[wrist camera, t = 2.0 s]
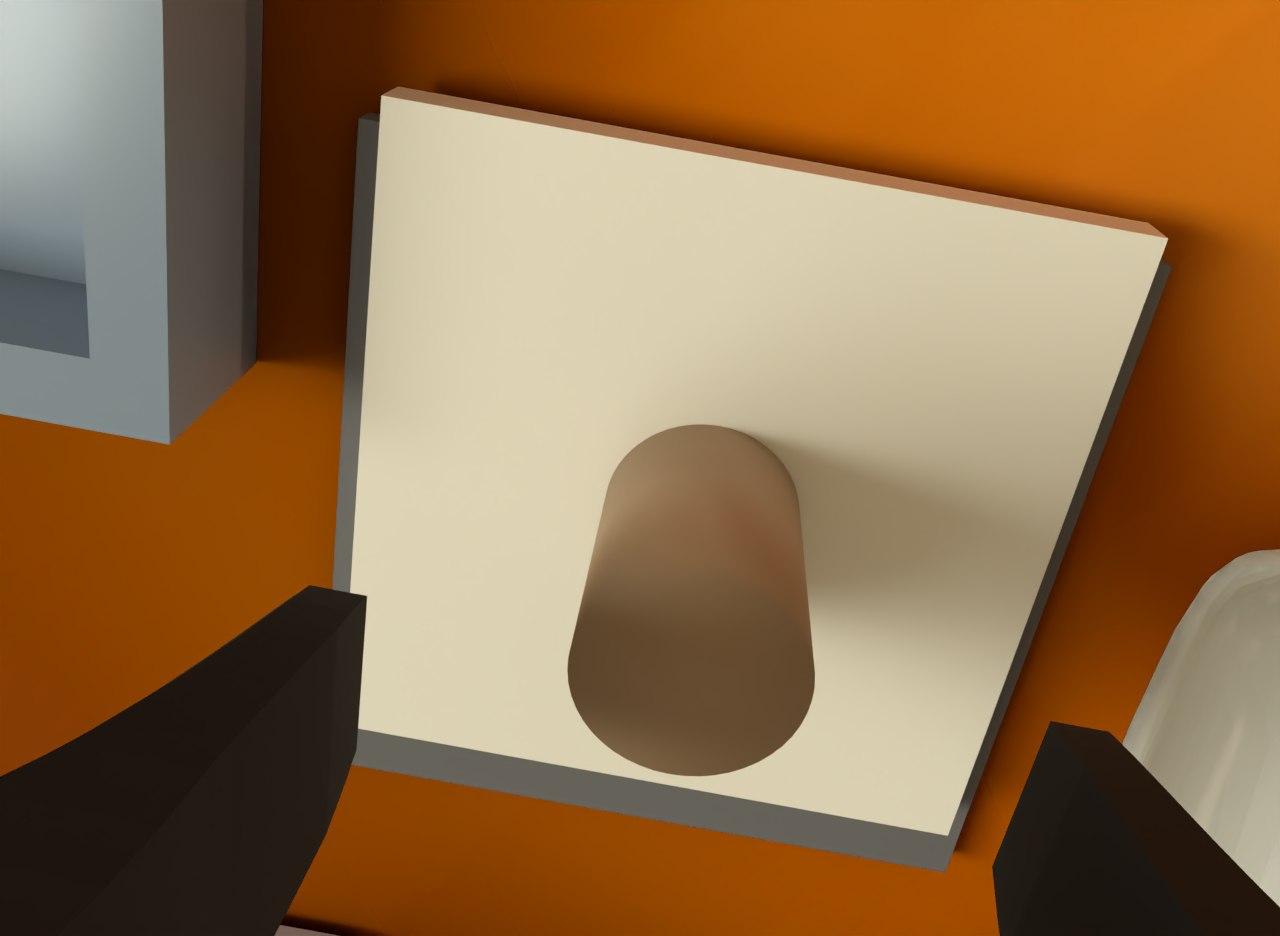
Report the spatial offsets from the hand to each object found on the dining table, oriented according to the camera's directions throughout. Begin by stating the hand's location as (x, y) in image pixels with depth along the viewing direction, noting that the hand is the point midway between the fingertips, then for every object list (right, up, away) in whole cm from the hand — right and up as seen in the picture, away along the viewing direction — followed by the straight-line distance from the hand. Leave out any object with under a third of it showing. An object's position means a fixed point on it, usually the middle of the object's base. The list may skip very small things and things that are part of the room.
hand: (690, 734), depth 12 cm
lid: (0, +3, +5) cm, 6 cm away
